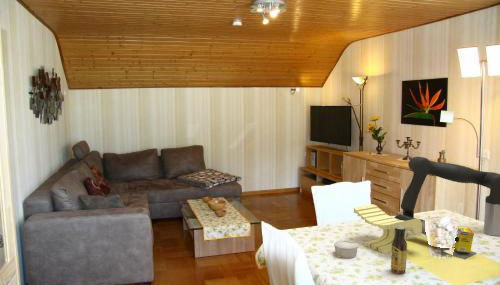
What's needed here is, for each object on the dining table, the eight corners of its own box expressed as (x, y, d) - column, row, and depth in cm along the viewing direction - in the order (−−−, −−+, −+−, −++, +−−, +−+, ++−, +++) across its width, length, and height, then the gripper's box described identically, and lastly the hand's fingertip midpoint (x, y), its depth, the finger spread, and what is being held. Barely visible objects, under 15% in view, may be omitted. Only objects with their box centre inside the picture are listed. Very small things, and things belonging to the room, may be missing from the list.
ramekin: (358, 251, 204) (358, 241, 203) (356, 260, 193) (357, 249, 193) (335, 249, 207) (335, 239, 207) (332, 257, 197) (332, 247, 196)
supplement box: (470, 254, 196) (474, 232, 193) (456, 252, 197) (460, 231, 194) (466, 248, 201) (470, 227, 199) (453, 246, 202) (456, 226, 200)
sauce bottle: (388, 268, 183) (389, 225, 181) (402, 268, 184) (403, 224, 182) (394, 275, 177) (395, 229, 175) (408, 274, 177) (410, 229, 175)
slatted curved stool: (420, 253, 200) (422, 217, 199) (396, 259, 193) (397, 222, 191) (376, 235, 227) (376, 203, 225) (353, 240, 220) (353, 207, 218)
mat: (453, 247, 208) (453, 246, 208) (476, 253, 199) (476, 252, 199) (441, 252, 201) (441, 251, 201) (464, 259, 192) (464, 258, 192)
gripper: (423, 224, 206) (456, 233, 193) (439, 219, 214) (471, 227, 201) (423, 239, 207) (455, 248, 194) (439, 233, 215) (470, 242, 202)
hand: (463, 237), depth 198 cm, fingers closed on supplement box, 8 cm apart
